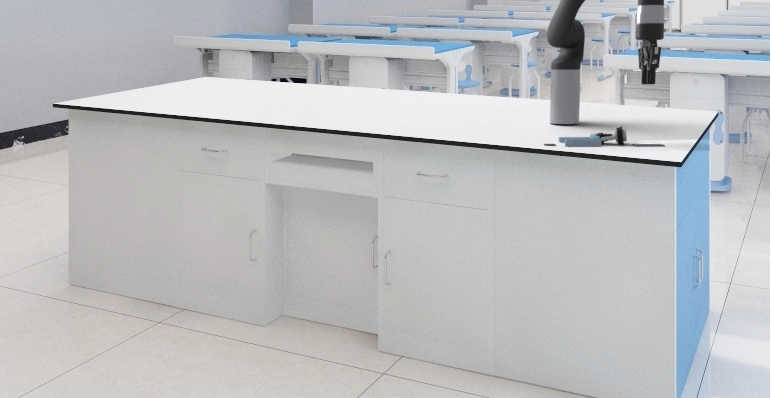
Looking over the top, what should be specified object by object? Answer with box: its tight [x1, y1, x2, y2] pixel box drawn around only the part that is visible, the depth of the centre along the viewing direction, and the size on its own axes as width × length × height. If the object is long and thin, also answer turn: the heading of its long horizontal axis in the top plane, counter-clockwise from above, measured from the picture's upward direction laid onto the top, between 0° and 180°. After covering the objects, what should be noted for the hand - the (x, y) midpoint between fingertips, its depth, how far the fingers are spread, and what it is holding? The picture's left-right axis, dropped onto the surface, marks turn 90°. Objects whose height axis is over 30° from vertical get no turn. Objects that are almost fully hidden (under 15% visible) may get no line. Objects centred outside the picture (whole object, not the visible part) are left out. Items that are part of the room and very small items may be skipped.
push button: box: [589, 125, 628, 146], centre depth 264 cm, size 7×5×10 cm
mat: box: [631, 143, 665, 147], centre depth 263 cm, size 8×8×1 cm
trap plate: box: [543, 143, 557, 146], centre depth 266 cm, size 5×3×1 cm, turn 1°
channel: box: [557, 136, 602, 147], centre depth 265 cm, size 10×10×2 cm
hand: (648, 84), depth 261 cm, fingers open, 4 cm apart
